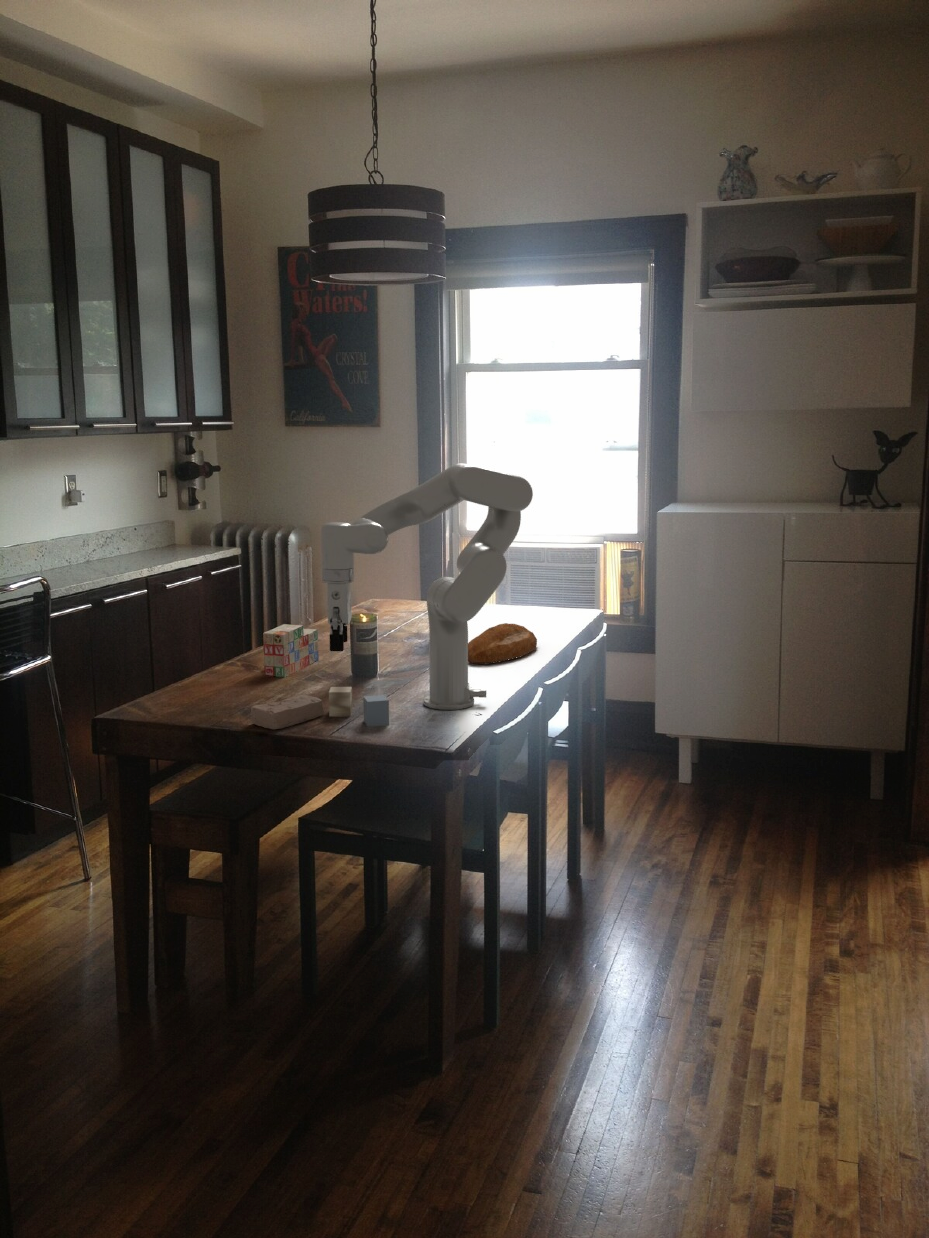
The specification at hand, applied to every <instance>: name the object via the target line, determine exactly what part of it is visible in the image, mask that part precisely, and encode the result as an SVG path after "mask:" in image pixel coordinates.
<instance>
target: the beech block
mask: <svg viewBox="0 0 929 1238" xmlns="http://www.w3.org/2000/svg"><path fill="white" fill-rule="evenodd" d="M328 710H329V711H328V712H329V713H328V715H329V717H351V716H352V711H353V689H352V686H330V688H329V691H328Z"/></svg>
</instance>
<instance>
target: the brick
mask: <svg viewBox="0 0 929 1238" xmlns="http://www.w3.org/2000/svg"><path fill="white" fill-rule="evenodd" d="M324 714H325V710H324V703H323V700H322V699H320V698H319V697H316V696H311V695H304V694H300V695H299V694H298V695H296V696H292V697H288V698H285V699H283V700H280V701H274V702H273V701H271V702H270V703H264V704H257V705H252V706H251V707H250V719H251V721H250V722H251V723H252V724H254V725H256V726H259V727H263V728H265V729H270V730H279V729H284V728H288V727H290V726H295V725H297V724H300V723H304V722H306V721H310V720H313V719H316V718H319V717H322V716H324Z"/></svg>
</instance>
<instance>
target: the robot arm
mask: <svg viewBox="0 0 929 1238" xmlns="http://www.w3.org/2000/svg"><path fill="white" fill-rule="evenodd" d="M533 496H534V493H533V487H532V486H531V484H530V482H529V481H528V480H527V479H525V478H524V477H522V476H519V475H514V474H510V473H505V472H500V471H496V470H492V469H489V468H485V467H482V466H478V465H475V464H468V463H462V462H461V463H459V462H458V463H456V464H453V465H451V466H450V467H448V468H445V470H443V471H441V472H439V473H438V474H436V475H434V476H433V477H431V478H429V479H428V480H426V481H425V482H423V483H421V484H419V485H418V486H416V487H414V488H412V489H410V490H409V491H407V492H404V493H402V494H400V495H398V496H397V497H394V498H393V499H391V500H389V501H386V502H384V503H382V504H380V505H378V506H376V507H374V508H373V509H371V510H369V511H368V512H366V513H365V514H363V515H361V516H360V517H358V518H356V519H355V520H354V521H353V522H352V523H348V522H343V521H341V522H340V521H333V522H332V521H331V522H325V523H324V524H322V525H321V529H320V553H321V554H320V556H321V560H320V561H321V564H320V565H321V583H323V584H326V610H327V611H326V613H327V614H326V615H327V623H328V624H329V625H330V628H329V629H330V630H329V651H330V652H343V651H344V650H345V647H344V645H345V643H347V642H348V625H349V624H350V622H351V621H352V596H351V595H352V593H351V592H352V591H351V583H354V582H355V573H354V572H355V569H354V568H355V567H354V566H355V565H354V563H355V562H354V561H355V559H354V558H355V554H364V555H377V554H379V553H381V552H383V551H384V550H385V549H386V547H387V546H388V545H389V544H388V543H389V536H390V535H391V534H393V533H395V532H397V531H400V530H403V529H405V528H408V527H412V526H417V525H422V524H425V523H428V522H431V521H432V520H434V519H436V518H437V517H440V516H441V515H442V514H443V513H445V512H446V511H448V510H450V509H452V508H453V507H455V506H457V505H458V504H460V503H461V502H463V501H467V502H470V503H474V504H477V505H481V506H485V507H487V508H488V509H487V510H488V512H487V515H486V518H485V519H484V522H483V523H482V524H481V526H480V528H479V529H478V530H477V532H475V534H474V535H473V537H471V539H470V540H469V541H468V543H466V546H465V547H464V548H463V549H462V550H461V551H460V553H459V554H458V557H457V560H456V568H457V571H458V572H459V574H458V576H457V577H456V578H455V577H451V576H442V577H439V578H438V579H435V580H433V582H432V583H431V585H429V587H428V590H427V593H426V609H427V615H428V616H427V617H428V631H429V632H428V635H429V641H428V646H429V647H428V648H429V649H428V654H429V655H428V656H429V661H428V662H429V663H428V664H429V666H428V667H429V672H428V673H429V694H428V695H427V696H425V697H424V698H423V699H422V700H423V702H422V703H423V705H424V706H425V707H428V708H429V709H432V710H433V709H434V710H442V711H444V710H445V711H455V710H463V708H464V709H467V708H470V707H472V706H474V704H475V698H487V689H482V688H481V687H478V688H477V687H476V688H473V687H470V683H469V661H468V643H469V626H468V622H469V621H471V620H472V619H473V618H474V617H475V616H476V615H477V614H478V613H479V612H480V611H481V610H482V608H483V607H484V606H485V604H486V603H487V602H488V601H489V600H490V598H491V597H492V595H493V594H494V593H495V592H496V590H497V589H498V588H499V586H500V585H501V583H502V582H503V580H504V578H505V576H506V573H507V567H508V566H507V565H508V564H507V561H506V558H505V556H504V555H505V553H506V552H507V550H508V549H509V548H510V546H511V545H512V544H513V542H514V540H515V539H516V537H517V535H518V532H519V531H520V528H521V527H520V526H521V521H522V519H521V518H522V516H521V515H522V514H521V513H522V511H524V510H525V509H526V508H528V507H529V506H530V505H531V503H532V499H533Z"/></svg>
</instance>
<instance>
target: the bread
mask: <svg viewBox="0 0 929 1238" xmlns="http://www.w3.org/2000/svg"><path fill="white" fill-rule="evenodd" d="M537 643H538V639H537V637H536V636H535V634H534V632H533V631H531V630H529V629H528V628H526V627H525V626H523V625H520V624H517V623H508V622H505V623H500V624H497V625H494V626H491V627H489V628H487V629H485V630H484V631H483V632H481V633H480V634H479V635H477V636H476V637H473V639H471V640H469V641H468V663H472V664H475V665H476V664H478V665H486V664H485V663H491V664H494V663H493V662H497V663H500V662H499V661H502V662H505V661H504V660H506V661H509V660H508V659H511V660H513V659H512V658H516V657H519V658H521V657H524V656H526V655H528V654H529V653H531V652H533V651H534V650H535V648H536V647H537V645H538V644H537ZM523 655H524V656H523ZM520 656H521V657H520ZM516 659H517V658H516Z"/></svg>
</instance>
